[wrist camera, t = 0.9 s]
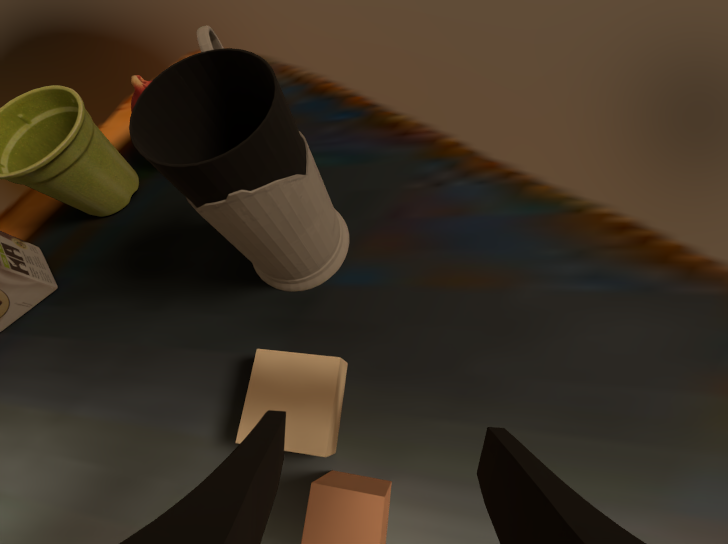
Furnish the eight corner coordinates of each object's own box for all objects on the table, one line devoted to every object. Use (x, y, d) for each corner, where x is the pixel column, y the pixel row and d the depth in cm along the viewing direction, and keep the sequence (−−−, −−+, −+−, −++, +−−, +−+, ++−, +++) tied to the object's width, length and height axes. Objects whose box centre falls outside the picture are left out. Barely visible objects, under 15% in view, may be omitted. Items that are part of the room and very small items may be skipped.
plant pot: (62, 182, 38) (-33, 119, 30) (143, 140, 38) (71, 68, 30) (77, 249, 34) (-28, 197, 26) (165, 201, 35) (90, 137, 27)
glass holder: (259, 305, 29) (116, 204, 15) (236, 173, 35) (116, 13, 21) (361, 271, 29) (308, 139, 15) (321, 144, 35) (256, -36, 21)
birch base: (336, 452, 24) (325, 457, 22) (255, 440, 25) (235, 442, 23) (348, 363, 27) (340, 357, 24) (273, 355, 28) (257, 348, 25)
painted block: (384, 556, 22) (375, 592, 17) (321, 541, 22) (296, 573, 18) (391, 481, 23) (384, 497, 18) (332, 470, 24) (311, 482, 19)
